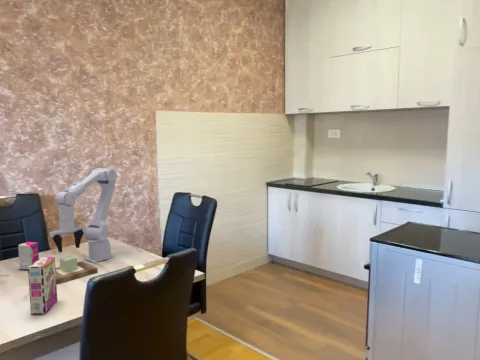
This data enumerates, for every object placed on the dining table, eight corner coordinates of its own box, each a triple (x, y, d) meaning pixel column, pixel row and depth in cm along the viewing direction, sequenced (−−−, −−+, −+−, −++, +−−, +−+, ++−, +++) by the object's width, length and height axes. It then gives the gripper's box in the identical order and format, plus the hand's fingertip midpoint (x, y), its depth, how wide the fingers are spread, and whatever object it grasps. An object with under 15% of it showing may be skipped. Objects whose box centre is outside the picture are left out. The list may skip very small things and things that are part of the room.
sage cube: (72, 266, 170) (71, 255, 170) (77, 269, 167) (76, 257, 166) (60, 269, 167) (59, 258, 166) (65, 272, 163) (65, 260, 163)
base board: (82, 265, 178) (81, 260, 178) (97, 272, 169) (97, 267, 169) (41, 276, 165) (40, 271, 165) (55, 284, 156) (54, 279, 155)
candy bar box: (46, 314, 130) (42, 266, 128) (30, 315, 130) (26, 267, 128) (58, 300, 141) (55, 256, 139) (44, 300, 141) (40, 256, 139)
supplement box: (30, 270, 172) (28, 245, 171) (19, 270, 173) (17, 245, 172) (40, 266, 178) (38, 241, 176) (28, 265, 179) (26, 241, 178)
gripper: (78, 215, 178) (80, 244, 179) (45, 221, 167) (48, 251, 168) (86, 217, 173) (88, 246, 175) (52, 223, 162) (55, 255, 164)
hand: (69, 249), depth 171 cm, fingers open, 7 cm apart
